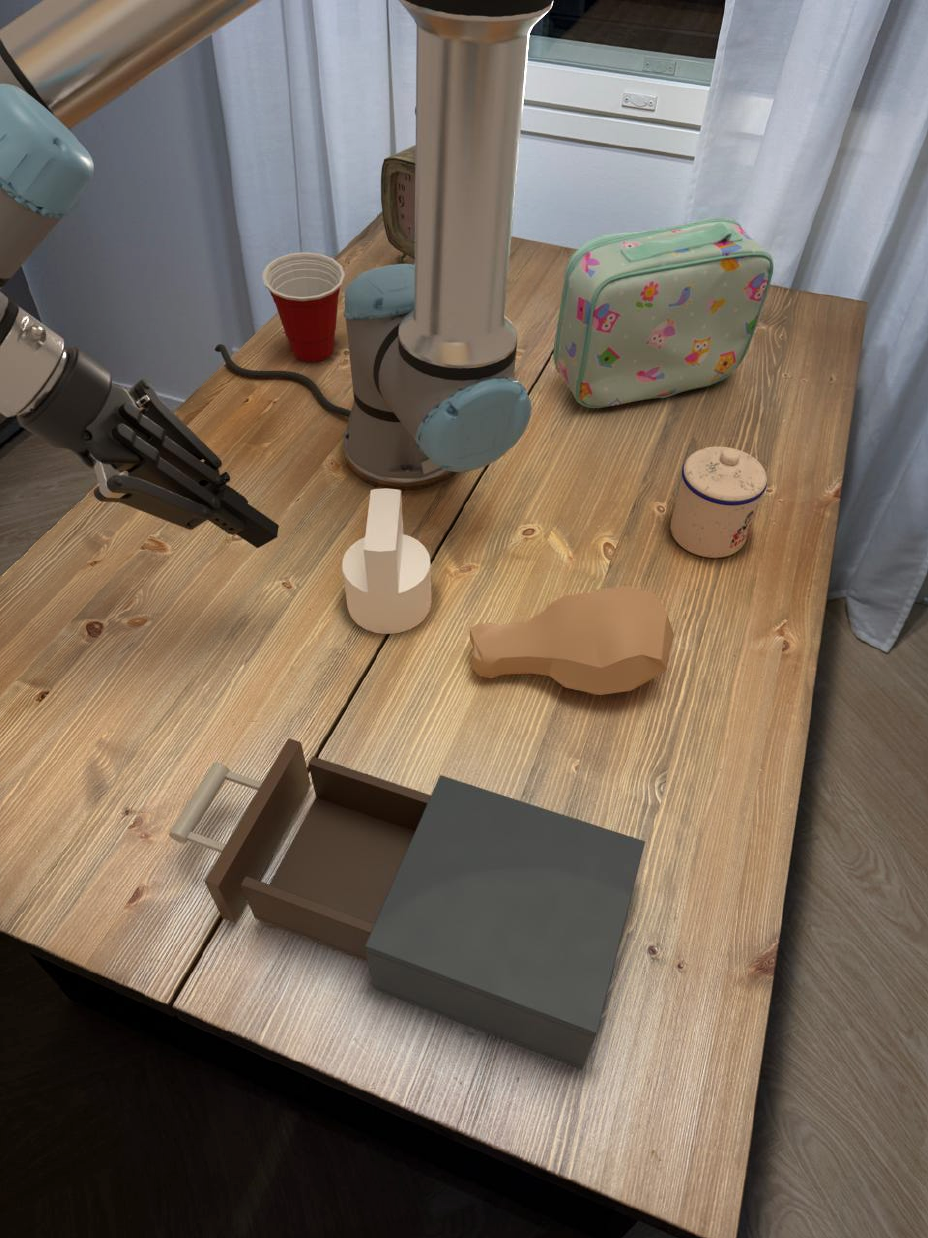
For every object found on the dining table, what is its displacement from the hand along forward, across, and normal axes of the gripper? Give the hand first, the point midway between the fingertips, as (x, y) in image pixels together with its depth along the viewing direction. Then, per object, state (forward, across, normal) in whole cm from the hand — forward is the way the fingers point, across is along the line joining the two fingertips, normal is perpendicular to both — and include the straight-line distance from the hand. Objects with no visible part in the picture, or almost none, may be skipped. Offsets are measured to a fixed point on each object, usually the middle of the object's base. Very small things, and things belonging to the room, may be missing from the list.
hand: (268, 536), depth 85 cm
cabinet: (+20, -35, -12) cm, 42 cm away
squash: (+27, -8, -16) cm, 32 cm away
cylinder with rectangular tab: (+16, +1, -1) cm, 16 cm away
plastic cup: (+13, +49, +12) cm, 52 cm away
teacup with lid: (+40, +13, -29) cm, 51 cm away
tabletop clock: (+25, +72, 0) cm, 76 cm away
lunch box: (+40, +42, -25) cm, 63 cm away
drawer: (+10, -29, 0) cm, 31 cm away
